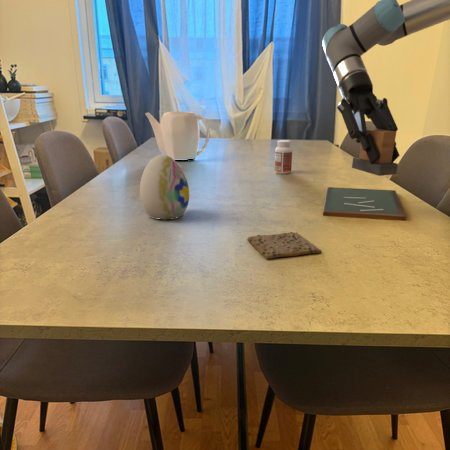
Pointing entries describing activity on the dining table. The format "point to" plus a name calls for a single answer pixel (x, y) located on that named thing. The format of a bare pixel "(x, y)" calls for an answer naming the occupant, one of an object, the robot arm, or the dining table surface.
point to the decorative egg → (164, 188)
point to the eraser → (385, 148)
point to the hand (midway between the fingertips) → (385, 159)
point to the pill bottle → (283, 157)
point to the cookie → (282, 245)
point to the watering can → (179, 134)
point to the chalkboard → (363, 203)
